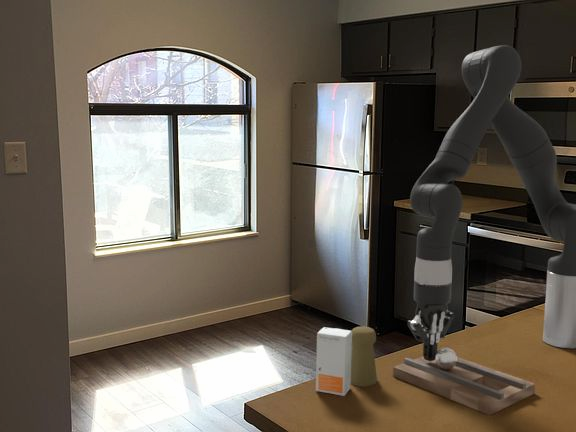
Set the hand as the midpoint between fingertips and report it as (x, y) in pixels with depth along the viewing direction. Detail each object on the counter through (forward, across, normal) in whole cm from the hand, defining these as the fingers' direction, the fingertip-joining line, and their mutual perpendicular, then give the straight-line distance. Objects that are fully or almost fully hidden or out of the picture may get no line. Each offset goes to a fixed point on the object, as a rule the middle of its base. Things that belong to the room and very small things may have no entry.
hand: (429, 359), depth 137 cm
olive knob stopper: (+3, +14, -6) cm, 16 cm away
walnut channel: (+3, 0, +8) cm, 9 cm away
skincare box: (+3, +22, -6) cm, 23 cm away
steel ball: (-1, 0, +4) cm, 4 cm away
